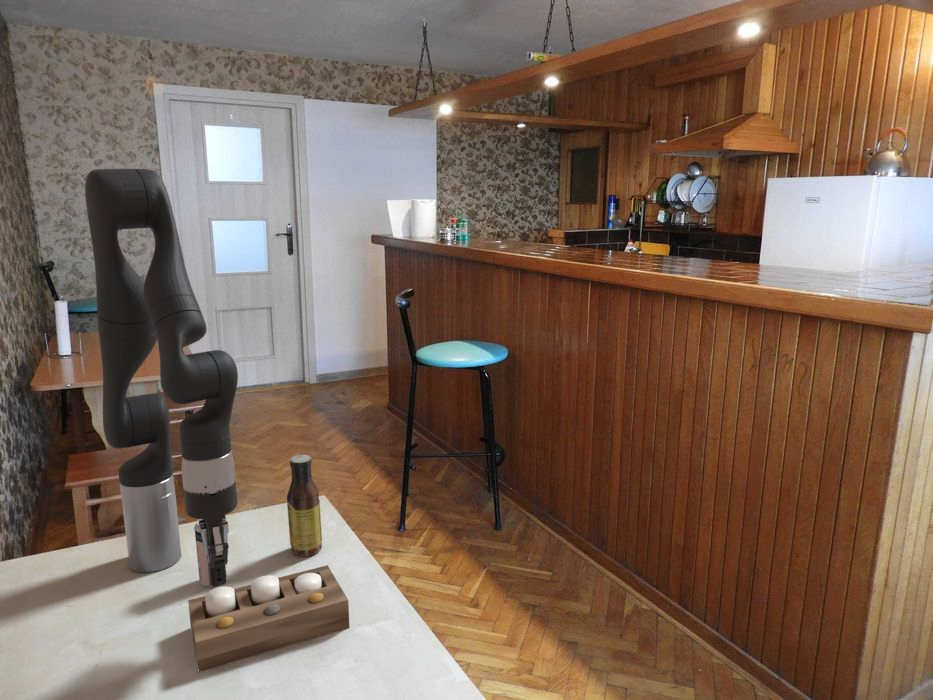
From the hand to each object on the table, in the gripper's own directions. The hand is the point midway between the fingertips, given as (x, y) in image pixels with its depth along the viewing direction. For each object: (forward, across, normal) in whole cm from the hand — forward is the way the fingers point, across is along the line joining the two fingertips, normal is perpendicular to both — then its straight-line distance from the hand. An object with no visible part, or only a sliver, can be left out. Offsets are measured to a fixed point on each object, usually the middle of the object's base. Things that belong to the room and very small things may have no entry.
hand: (218, 583), depth 104 cm
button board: (+9, +2, +7) cm, 11 cm away
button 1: (+5, 0, 0) cm, 5 cm away
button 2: (+5, 0, +7) cm, 9 cm away
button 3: (+6, 0, +14) cm, 15 cm away
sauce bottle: (+9, -20, +18) cm, 29 cm away
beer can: (+9, -17, 0) cm, 19 cm away
